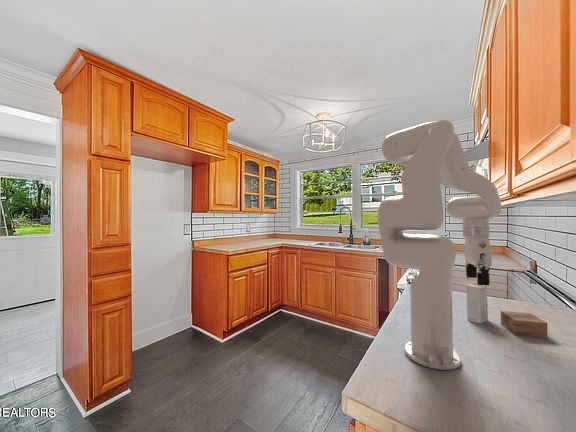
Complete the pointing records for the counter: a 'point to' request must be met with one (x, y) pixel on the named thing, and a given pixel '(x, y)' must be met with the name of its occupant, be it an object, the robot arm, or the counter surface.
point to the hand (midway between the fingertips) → (477, 281)
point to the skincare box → (477, 303)
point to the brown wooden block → (524, 324)
